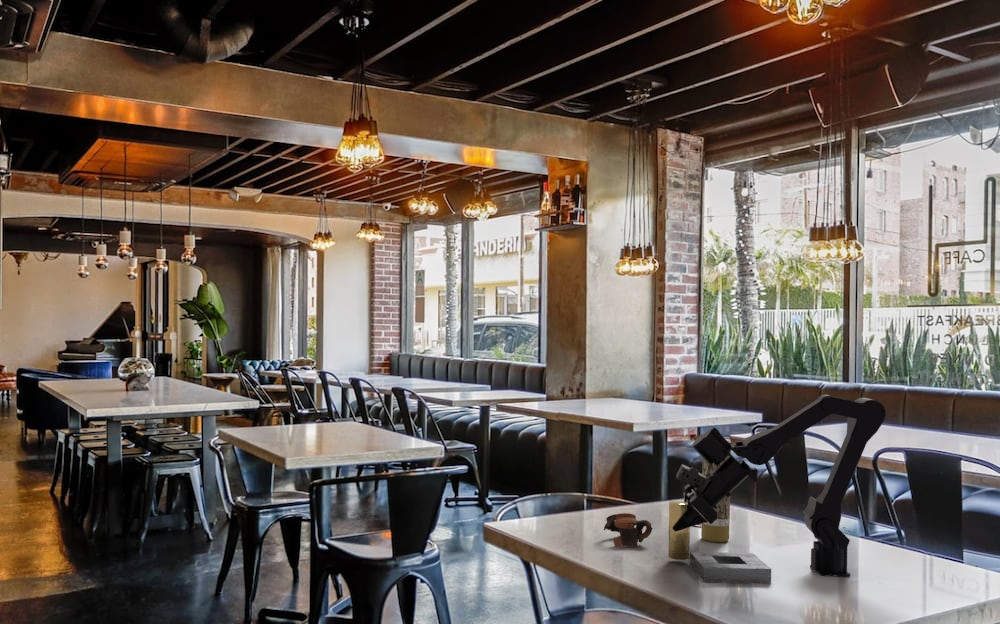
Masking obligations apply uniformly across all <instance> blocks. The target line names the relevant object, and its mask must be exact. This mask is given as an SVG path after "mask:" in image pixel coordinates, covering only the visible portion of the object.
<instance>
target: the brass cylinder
mask: <svg viewBox="0 0 1000 624" xmlns="http://www.w3.org/2000/svg"><path fill="white" fill-rule="evenodd" d="M668 507H669V508H668V555H667V556H668V557H667V558H669V559H672V560H676V561H686V560H690V552H691V551H690V550H691V549H690V545H691V544H690V539H691V538H690V536H691V532H690V531H691V527H688V528H685V529H682V530H679V531H674V530H673V529H672V527H673V526H674V524H675V523H676V522H677V520H678V519H679V518H680V517H681V515H682V514H683V513H684V511H685V510H686V507H687V502H684V501H681V500H680V501H679V500H678V501H677V500H675V501H669V503H668Z"/></svg>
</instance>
